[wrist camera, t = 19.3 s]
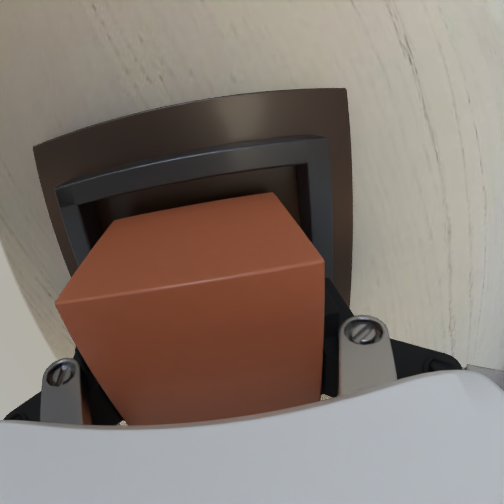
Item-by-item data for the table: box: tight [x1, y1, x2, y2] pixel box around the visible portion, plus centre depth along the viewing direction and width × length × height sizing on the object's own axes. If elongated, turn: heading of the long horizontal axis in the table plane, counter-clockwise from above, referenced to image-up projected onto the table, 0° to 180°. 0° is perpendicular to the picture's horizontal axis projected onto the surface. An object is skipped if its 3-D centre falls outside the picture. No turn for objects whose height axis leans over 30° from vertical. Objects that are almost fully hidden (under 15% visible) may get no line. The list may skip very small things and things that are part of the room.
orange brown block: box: [55, 192, 325, 426], centre depth 9 cm, size 7×6×5 cm
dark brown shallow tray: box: [33, 88, 353, 307], centre depth 12 cm, size 14×12×2 cm
